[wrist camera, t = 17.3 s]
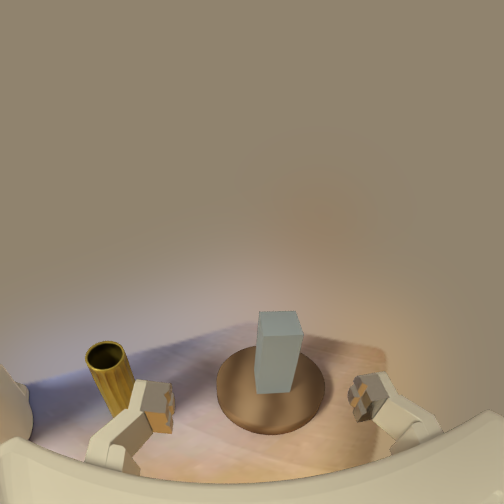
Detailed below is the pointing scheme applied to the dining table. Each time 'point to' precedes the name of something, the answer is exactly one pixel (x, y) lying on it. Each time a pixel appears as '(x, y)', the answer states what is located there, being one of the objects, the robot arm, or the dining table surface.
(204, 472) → the dining table surface
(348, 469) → the robot arm
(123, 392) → the vase
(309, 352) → the dining table surface
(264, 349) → the gray block
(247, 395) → the walnut base
